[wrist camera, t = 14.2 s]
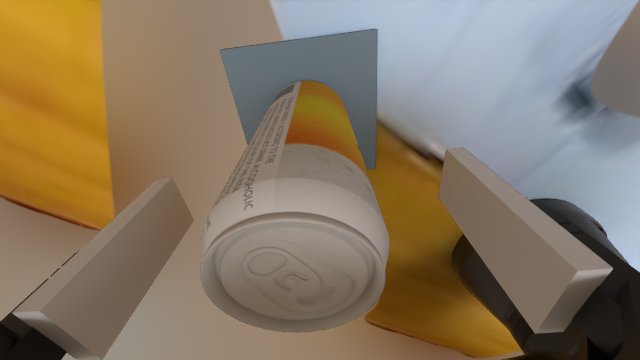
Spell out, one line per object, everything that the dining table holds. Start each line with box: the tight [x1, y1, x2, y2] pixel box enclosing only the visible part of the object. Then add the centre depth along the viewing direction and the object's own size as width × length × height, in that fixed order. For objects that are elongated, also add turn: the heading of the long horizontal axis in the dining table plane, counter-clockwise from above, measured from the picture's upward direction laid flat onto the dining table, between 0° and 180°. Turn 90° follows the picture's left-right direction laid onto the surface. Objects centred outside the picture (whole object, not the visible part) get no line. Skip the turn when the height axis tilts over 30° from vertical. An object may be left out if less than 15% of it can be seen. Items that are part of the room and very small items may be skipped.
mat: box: [220, 29, 378, 170], centre depth 20 cm, size 11×11×1 cm
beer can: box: [200, 81, 390, 332], centre depth 13 cm, size 6×6×15 cm
